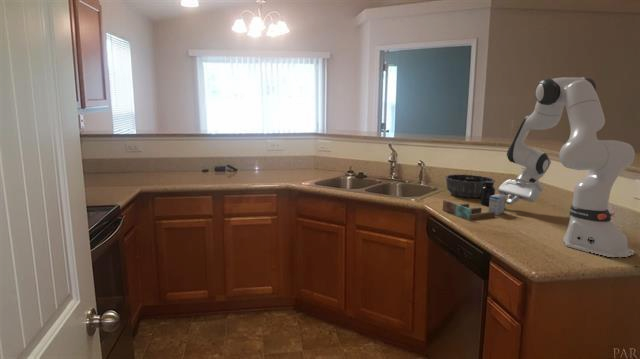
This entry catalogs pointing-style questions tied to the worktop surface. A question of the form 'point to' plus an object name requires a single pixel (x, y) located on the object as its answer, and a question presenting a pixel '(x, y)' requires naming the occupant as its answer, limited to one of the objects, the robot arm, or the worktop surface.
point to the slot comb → (465, 211)
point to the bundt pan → (466, 185)
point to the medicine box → (497, 204)
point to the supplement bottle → (487, 192)
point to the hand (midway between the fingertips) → (508, 203)
